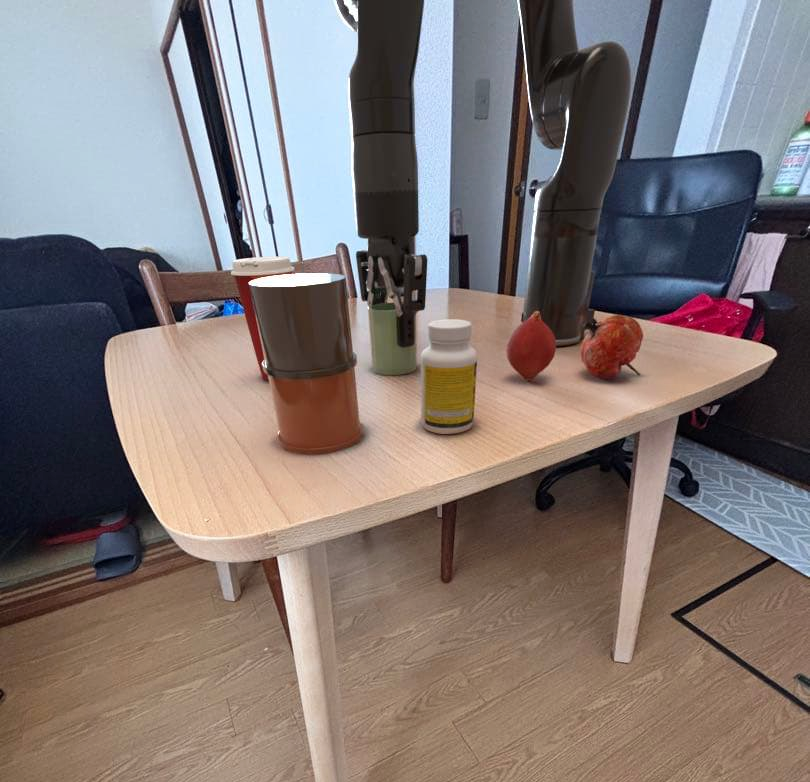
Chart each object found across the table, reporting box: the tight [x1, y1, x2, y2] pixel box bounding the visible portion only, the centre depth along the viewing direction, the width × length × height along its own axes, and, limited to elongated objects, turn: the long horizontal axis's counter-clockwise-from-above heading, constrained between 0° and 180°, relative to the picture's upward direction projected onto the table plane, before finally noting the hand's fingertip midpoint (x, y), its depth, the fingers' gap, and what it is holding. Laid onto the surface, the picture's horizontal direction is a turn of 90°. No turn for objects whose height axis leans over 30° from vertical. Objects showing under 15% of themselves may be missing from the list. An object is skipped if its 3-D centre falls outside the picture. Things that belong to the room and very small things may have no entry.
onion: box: [506, 311, 557, 381], centre depth 57 cm, size 6×6×8 cm
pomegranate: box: [580, 314, 644, 380], centre depth 58 cm, size 7×7×10 cm
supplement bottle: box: [420, 318, 478, 435], centre depth 46 cm, size 5×5×10 cm
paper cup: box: [230, 256, 295, 382], centre depth 61 cm, size 8×8×14 cm
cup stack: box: [249, 272, 365, 455], centre depth 43 cm, size 9×9×14 cm
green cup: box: [367, 301, 418, 376], centre depth 63 cm, size 6×6×8 cm
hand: (392, 341), depth 64 cm, fingers closed on green cup, 6 cm apart
